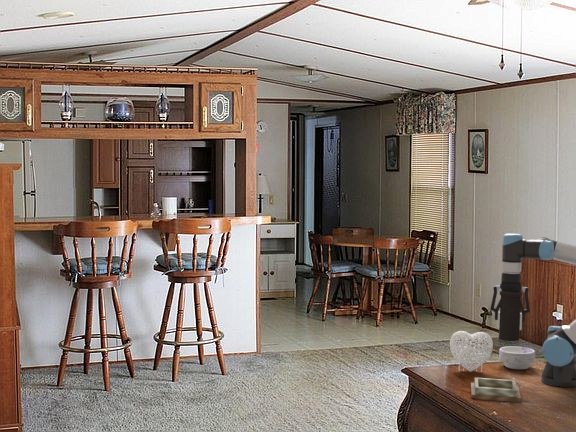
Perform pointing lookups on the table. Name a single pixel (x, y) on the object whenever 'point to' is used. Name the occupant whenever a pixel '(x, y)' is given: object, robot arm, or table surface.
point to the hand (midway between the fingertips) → (509, 328)
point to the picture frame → (495, 390)
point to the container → (509, 315)
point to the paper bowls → (517, 357)
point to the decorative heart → (471, 349)
